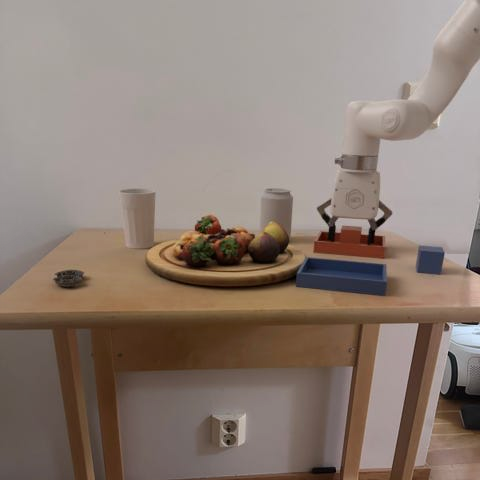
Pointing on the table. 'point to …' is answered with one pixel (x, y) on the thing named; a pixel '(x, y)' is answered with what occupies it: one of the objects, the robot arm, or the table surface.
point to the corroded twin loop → (68, 277)
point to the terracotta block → (350, 234)
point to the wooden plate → (226, 256)
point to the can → (276, 208)
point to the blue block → (430, 259)
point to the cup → (138, 217)
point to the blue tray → (342, 276)
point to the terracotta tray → (350, 246)
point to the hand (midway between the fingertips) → (350, 244)
